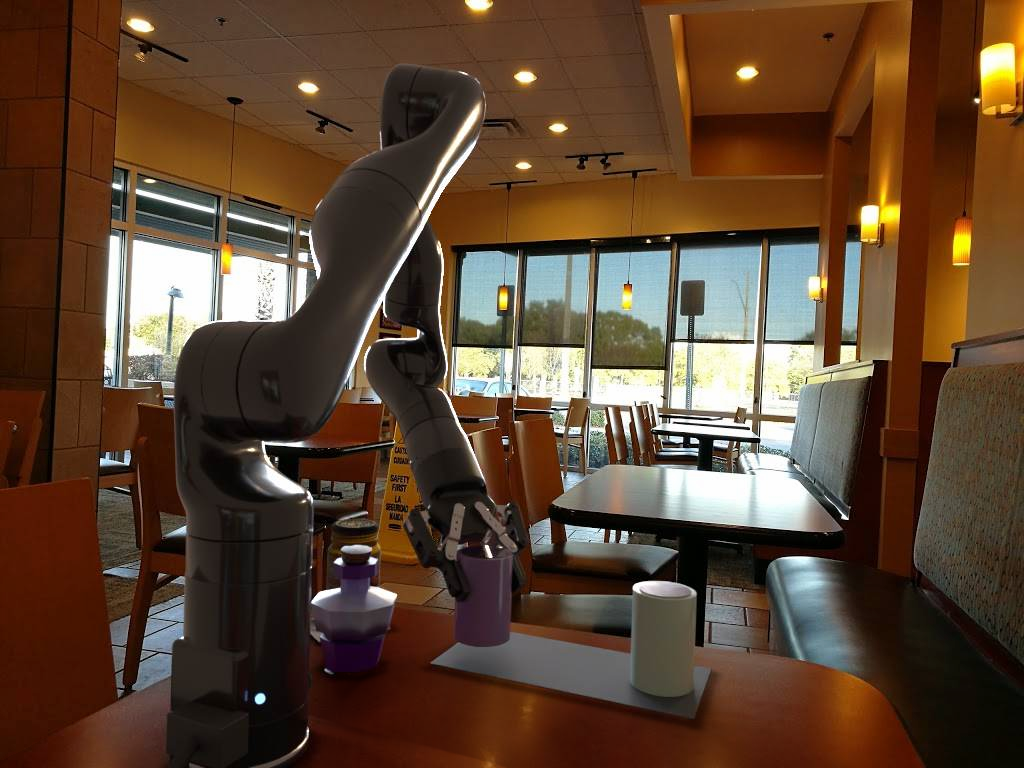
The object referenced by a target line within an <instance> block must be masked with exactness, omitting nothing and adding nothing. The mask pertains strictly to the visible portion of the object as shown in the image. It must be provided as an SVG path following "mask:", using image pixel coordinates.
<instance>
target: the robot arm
mask: <svg viewBox="0 0 1024 768" xmlns="http://www.w3.org/2000/svg"><path fill="white" fill-rule="evenodd" d="M384 79H385V80H384V83H383V86H382V90H381V95H380V105H379V106H380V107H379V135H380V149H379V150H376V151H373V152H371V153H369V154H367V155H365V156H363V157H361V158H359V159H357V160H356V161H354V162H352V163H351V164H350V165H349V166H347V168H345V169H344V170H343V171H342V172H341V174H340V175H339V176H338V177H337V178H336V179H335V181H334V182H333V184H332V185H331V186H330V187H329V189H328V190H327V191H326V193H325V195H323V197H322V199H320V201H319V203H318V205H317V206H316V208H315V210H314V212H313V214H312V217H311V220H310V225H309V244H310V250H311V255H312V259H313V263H314V268H315V270H316V276H317V279H316V281H315V283H314V285H313V287H312V288H311V291H310V292H309V294H308V295H307V297H306V298H305V299H304V301H303V302H302V304H301V305H300V306H299V307H298V309H297V310H296V311H295V312H294V313H292V314H291V315H290V316H289V317H287V318H285V319H282V320H217V321H216V320H215V321H211V322H207V323H204V324H202V325H200V326H198V327H197V328H196V329H195V330H193V332H191V334H190V335H189V336H188V337H187V338H186V341H185V342H184V344H183V346H182V348H181V350H180V354H179V356H178V359H177V361H176V362H177V363H176V366H175V374H174V381H173V424H174V427H173V428H174V453H175V454H174V455H175V456H174V457H175V459H174V460H175V481H176V489H177V493H178V497H179V500H180V503H181V504H182V507H183V510H184V512H185V555H184V556H185V558H184V559H185V561H184V589H183V590H184V591H183V593H184V594H183V629H182V630H183V631H182V632H183V633H182V637H179V638H176V639H174V641H173V642H172V644H171V666H170V667H171V670H170V671H171V672H170V673H171V674H170V707H169V708H170V710H169V712H168V713H166V741H165V742H166V743H165V746H166V747H165V751H166V752H165V753H166V754H167V755H168V765H167V766H166V768H288V767H291V766H292V765H293V764H295V763H296V762H297V761H298V760H300V759H301V757H303V755H304V754H305V753H306V751H307V749H308V747H309V739H310V738H309V737H310V736H309V735H310V729H309V723H308V722H309V697H310V696H309V695H310V694H309V693H310V692H309V691H311V692H312V691H313V675H312V674H311V673H310V655H311V654H310V652H311V634H310V623H311V618H312V608H311V601H312V588H313V587H312V585H313V584H312V582H313V579H312V578H313V559H314V558H313V555H314V553H313V552H314V551H313V550H314V520H315V519H314V517H315V516H314V515H315V514H314V513H315V512H314V511H315V504H314V503H315V502H314V497H313V495H312V493H311V492H310V491H309V490H308V489H307V488H306V487H304V486H303V485H301V484H299V483H298V482H295V481H294V480H292V479H291V478H289V477H287V476H286V475H285V474H284V473H282V472H281V471H280V470H278V469H277V468H276V466H274V464H273V463H272V462H271V460H270V459H269V457H268V454H267V452H266V446H265V445H266V444H265V443H275V444H291V443H292V444H293V443H301V442H305V441H308V440H310V439H311V438H313V437H315V436H317V435H318V434H319V433H320V432H321V431H322V430H323V429H324V427H325V426H326V425H327V423H328V422H329V421H330V419H331V417H332V416H333V415H334V413H335V411H336V409H337V407H338V405H339V403H340V401H341V399H342V397H343V395H344V392H345V389H346V387H347V384H348V382H349V380H350V378H351V375H352V372H353V370H354V367H355V364H356V362H357V359H358V357H359V354H360V352H361V349H362V347H363V344H364V342H365V339H366V337H367V334H368V331H369V329H370V328H371V327H370V326H371V324H372V323H373V320H374V318H375V316H376V314H377V312H378V310H379V308H380V306H381V304H382V302H383V313H384V316H385V318H386V319H387V320H388V321H389V322H391V323H392V324H395V325H399V326H401V327H406V328H411V329H416V330H417V337H408V338H407V337H403V338H402V337H401V338H383V339H378V340H376V341H374V342H373V343H371V344H370V346H369V347H368V349H367V351H366V353H365V356H364V364H363V365H364V371H365V375H366V378H367V379H366V380H367V381H368V383H369V386H370V387H371V389H372V390H373V392H374V393H375V394H376V396H377V397H378V399H379V400H380V401H381V402H382V403H383V405H384V406H385V407H386V409H387V410H388V411H389V413H390V414H391V415H392V417H393V418H394V419H395V421H396V423H397V425H398V428H399V432H400V434H401V437H402V440H403V443H404V446H405V449H406V457H407V461H408V464H409V469H410V471H411V473H412V476H413V479H414V482H415V485H416V489H417V491H418V494H419V497H420V499H421V503H422V505H423V508H424V509H425V510H424V511H420V510H419V509H417V508H412V509H410V511H409V512H408V514H407V516H406V518H405V520H404V521H403V524H402V527H403V530H404V532H405V534H406V537H407V538H408V540H409V543H410V545H411V546H412V549H413V551H414V553H415V555H416V557H417V559H418V561H419V563H420V566H421V567H422V568H423V569H430V568H436V569H438V570H439V571H440V572H441V573H442V576H443V580H444V582H445V585H446V588H447V591H448V594H449V595H450V597H451V598H454V600H455V599H456V601H457V602H463V601H465V600H466V598H467V597H468V596H469V594H470V589H469V586H468V583H467V580H466V577H465V575H464V572H463V569H462V566H461V564H460V561H459V560H458V561H456V556H457V550H458V547H459V546H461V545H465V544H466V543H470V544H471V543H472V544H479V545H480V546H496V547H502V548H506V549H508V550H510V551H512V552H513V572H512V595H513V594H514V595H515V594H519V593H520V592H521V591H522V590H523V588H524V587H525V585H526V584H525V583H526V581H527V575H526V573H525V570H524V568H523V565H522V563H521V560H520V558H519V557H520V556H521V555H522V553H523V552H524V550H525V549H526V548H527V547H528V546H529V544H530V539H529V536H528V533H527V530H526V527H525V523H524V519H523V517H522V512H521V509H520V506H519V503H518V502H517V501H515V500H511V501H509V503H508V504H506V505H505V504H496V503H495V501H494V500H493V499H492V498H491V497H490V496H489V494H488V488H487V483H486V480H485V477H484V475H483V472H482V470H481V468H480V466H479V463H478V460H477V458H476V456H475V453H474V451H473V448H472V446H471V444H470V441H469V439H468V436H467V434H466V433H465V431H464V430H463V428H462V427H461V424H460V422H459V419H458V417H457V415H456V411H455V410H454V408H453V405H452V402H451V400H450V398H449V396H448V395H447V393H446V392H445V391H444V390H442V389H441V388H438V387H439V386H440V385H442V383H443V382H444V380H445V378H446V376H447V372H448V359H447V353H446V348H445V344H444V339H443V333H442V324H441V313H440V308H441V307H440V306H441V296H442V286H443V276H444V257H443V252H442V248H441V243H440V240H439V238H438V236H437V233H436V231H435V229H434V226H433V224H432V222H431V219H430V217H429V216H430V214H431V211H432V210H433V208H434V206H435V205H436V203H437V201H438V199H439V197H440V195H441V193H442V192H443V190H444V189H445V187H446V186H447V185H448V184H449V182H450V181H451V179H452V178H453V177H454V175H455V174H456V173H457V171H458V170H459V169H460V168H461V166H462V165H463V164H464V162H465V161H466V160H467V158H468V156H469V155H470V154H471V152H472V150H473V149H474V148H475V145H476V143H477V141H478V139H479V137H480V134H481V131H482V129H483V125H484V121H485V116H486V108H487V107H486V106H487V104H486V96H485V92H484V89H483V87H482V85H481V83H480V82H479V81H478V79H477V78H475V77H473V76H472V75H470V74H468V73H465V72H462V71H457V70H453V69H446V68H437V67H433V66H427V65H426V66H425V65H421V64H413V63H397V64H395V65H393V67H392V68H390V70H389V72H388V73H387V75H386V76H385V78H384ZM495 517H496V518H497V519H498V520H497V519H496V518H495ZM429 526H430V527H432V529H434V530H435V531H436V532H438V533H439V534H440V541H439V547H438V545H437V543H436V542H435V540H434V538H433V535H432V534H431V531H430V529H429ZM489 533H491V536H489Z"/></svg>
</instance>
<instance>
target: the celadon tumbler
mask: <svg viewBox="0 0 1024 768" xmlns="http://www.w3.org/2000/svg"><path fill="white" fill-rule="evenodd" d="M697 593H698V592H697V591H696V590H695V589H693V587H690V586H687V585H685V584H681V583H677V582H672V581H664V580H663V581H662V580H648V581H641V582H638V583H635V584H634V585H633V586H632V598H631V601H632V602H631V627H630V630H631V631H630V653H629V654H630V683H631V684H632V686H634V687H635V688H636V689H638V690H640V691H642V692H644V693H647V694H651V695H655V696H662V697H678V696H683V695H686V694H688V693H690V692H691V691H692V690H693V682H694V665H695V650H696V629H697V627H696V625H697V599H698V594H697Z"/></svg>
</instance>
